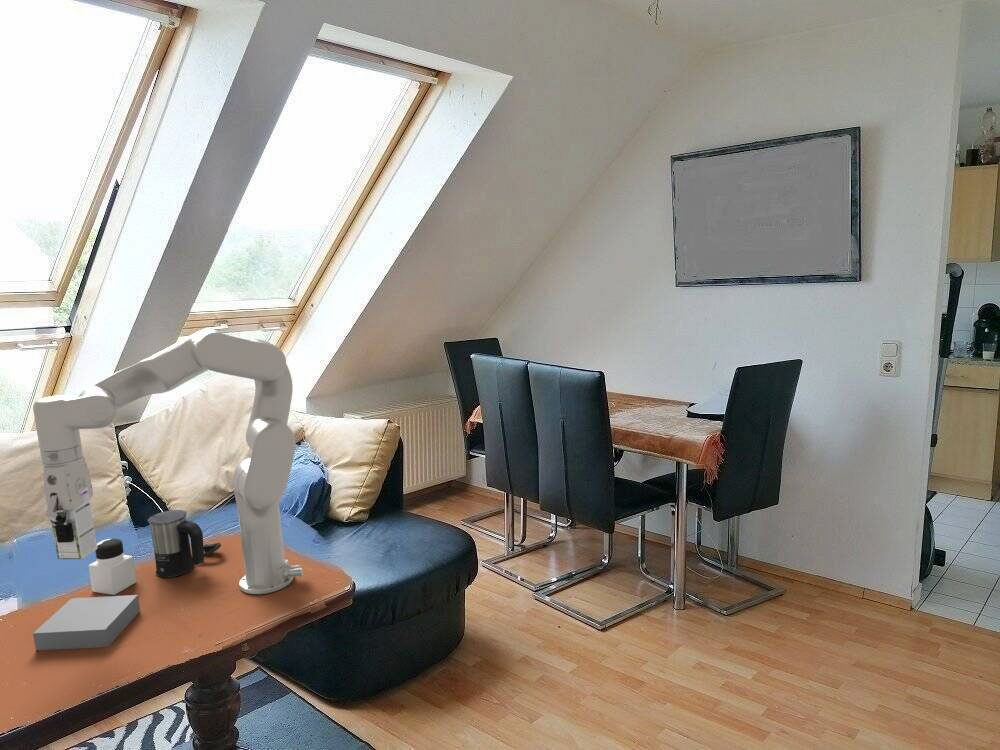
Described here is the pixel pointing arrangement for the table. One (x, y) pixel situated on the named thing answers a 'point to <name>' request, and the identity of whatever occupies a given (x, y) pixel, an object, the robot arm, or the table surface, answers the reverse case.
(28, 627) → the table surface
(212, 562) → the table surface
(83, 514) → the syrup box
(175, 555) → the milk frother
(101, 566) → the medicine bottle
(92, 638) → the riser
